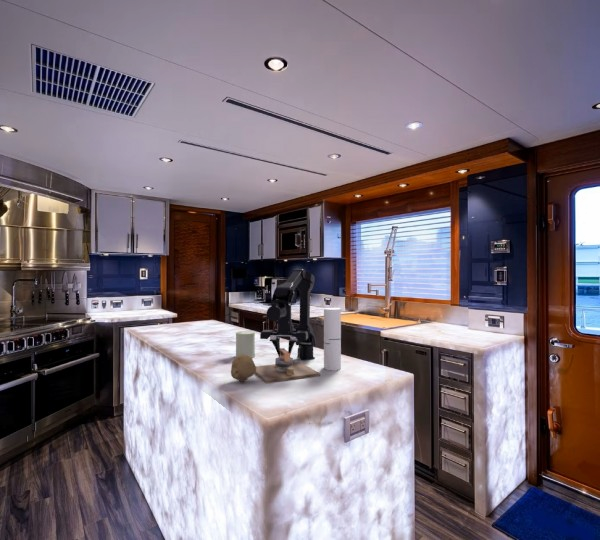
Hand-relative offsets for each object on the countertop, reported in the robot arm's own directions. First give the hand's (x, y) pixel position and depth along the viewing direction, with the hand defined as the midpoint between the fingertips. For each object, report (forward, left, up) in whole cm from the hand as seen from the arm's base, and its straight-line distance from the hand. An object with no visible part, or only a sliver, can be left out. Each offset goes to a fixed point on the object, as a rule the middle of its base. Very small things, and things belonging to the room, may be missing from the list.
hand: (284, 356), depth 143 cm
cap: (0, 0, -3) cm, 3 cm away
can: (+7, -33, -7) cm, 34 cm away
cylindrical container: (-21, +2, -7) cm, 22 cm away
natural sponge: (+18, +5, -7) cm, 20 cm away
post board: (0, 0, -7) cm, 7 cm away
